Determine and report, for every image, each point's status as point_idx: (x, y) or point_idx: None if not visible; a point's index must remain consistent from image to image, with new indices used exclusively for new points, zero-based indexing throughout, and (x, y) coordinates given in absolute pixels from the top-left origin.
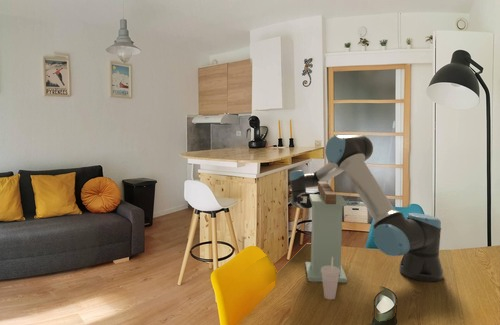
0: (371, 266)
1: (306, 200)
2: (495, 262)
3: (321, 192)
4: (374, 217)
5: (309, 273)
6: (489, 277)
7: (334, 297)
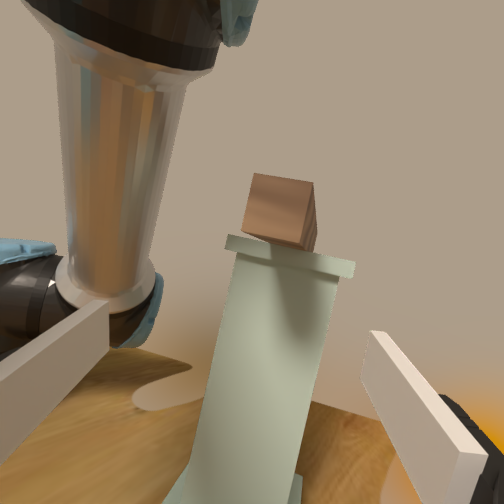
0: (30, 493)
1: (366, 360)
2: None
3: (311, 238)
4: (142, 275)
5: (295, 492)
6: None
7: None
